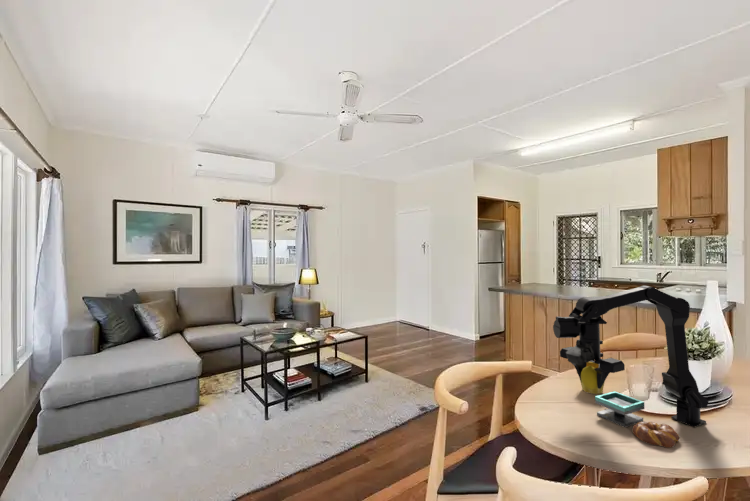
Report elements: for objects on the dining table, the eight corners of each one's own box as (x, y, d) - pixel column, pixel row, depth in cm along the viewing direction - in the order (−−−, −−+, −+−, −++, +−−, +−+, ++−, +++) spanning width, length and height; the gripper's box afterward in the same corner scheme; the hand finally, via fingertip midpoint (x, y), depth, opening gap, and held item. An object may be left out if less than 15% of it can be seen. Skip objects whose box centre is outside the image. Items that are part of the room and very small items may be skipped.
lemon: (603, 393, 115) (603, 368, 114) (584, 393, 116) (583, 368, 116) (596, 387, 120) (596, 363, 120) (578, 386, 121) (577, 362, 121)
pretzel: (649, 425, 114) (649, 414, 114) (690, 443, 103) (690, 430, 103) (623, 433, 110) (622, 421, 109) (662, 452, 99) (662, 439, 99)
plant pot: (578, 383, 147) (578, 359, 147) (608, 389, 141) (608, 364, 141) (575, 392, 139) (574, 367, 139) (607, 398, 133) (606, 372, 133)
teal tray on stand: (614, 409, 125) (614, 391, 125) (644, 421, 116) (644, 402, 116) (595, 414, 121) (595, 396, 121) (624, 428, 112) (624, 408, 112)
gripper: (547, 334, 123) (548, 380, 123) (599, 348, 106) (601, 401, 106) (570, 330, 127) (572, 374, 128) (625, 342, 110) (626, 393, 110)
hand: (590, 385), depth 118 cm, fingers closed on lemon, 5 cm apart
